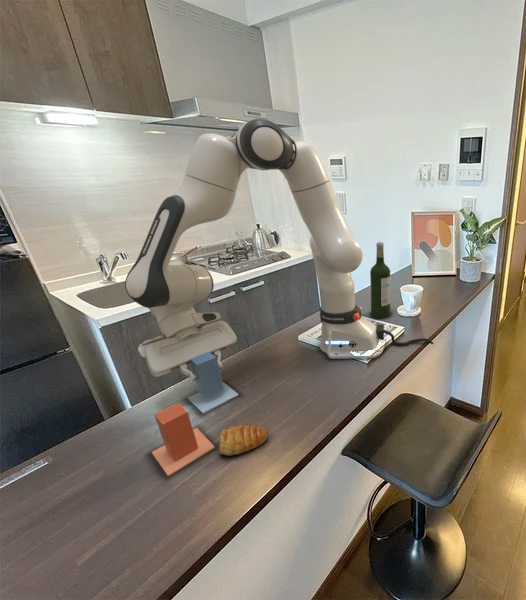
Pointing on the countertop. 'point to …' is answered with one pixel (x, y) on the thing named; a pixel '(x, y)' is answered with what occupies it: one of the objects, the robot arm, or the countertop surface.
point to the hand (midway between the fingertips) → (208, 374)
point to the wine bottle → (380, 285)
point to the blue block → (207, 374)
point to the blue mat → (212, 399)
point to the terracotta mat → (172, 466)
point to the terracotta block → (176, 431)
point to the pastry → (241, 439)
